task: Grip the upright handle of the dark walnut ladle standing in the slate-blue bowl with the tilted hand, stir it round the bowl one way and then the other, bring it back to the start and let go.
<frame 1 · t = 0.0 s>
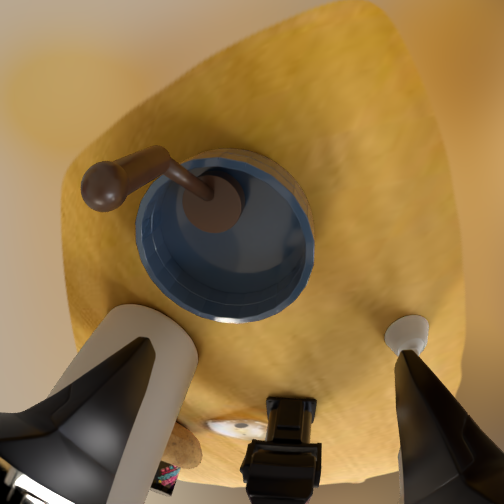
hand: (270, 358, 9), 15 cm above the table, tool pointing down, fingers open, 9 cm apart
potato: (172, 422, 45), on the table
supplement container: (170, 459, 59), on the table
ladle: (177, 206, 16), point 7 cm above the table, hinge at 0.0°
bowl: (231, 228, 24), on the table
chalice: (406, 332, 26), on the table
cylinder vase: (152, 340, 33), on the table
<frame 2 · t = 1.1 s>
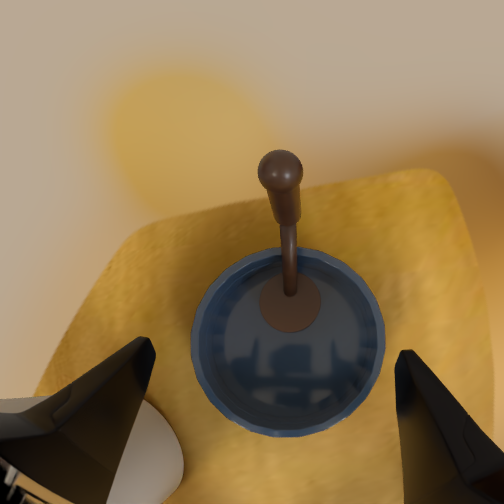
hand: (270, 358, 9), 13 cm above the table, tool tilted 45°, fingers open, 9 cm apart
ladle: (286, 263, 17), point 7 cm above the table, hinge at 0.0°
bowl: (289, 342, 22), on the table
cylinder vase: (129, 445, 22), on the table
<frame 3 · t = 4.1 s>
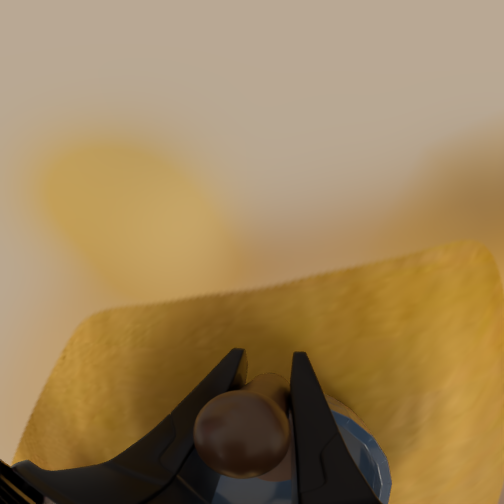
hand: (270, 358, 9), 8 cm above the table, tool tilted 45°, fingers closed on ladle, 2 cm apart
ladle: (265, 457, 9), point 7 cm above the table, hinge at 0.0°, touching gripper
bowl: (275, 474, 15), on the table
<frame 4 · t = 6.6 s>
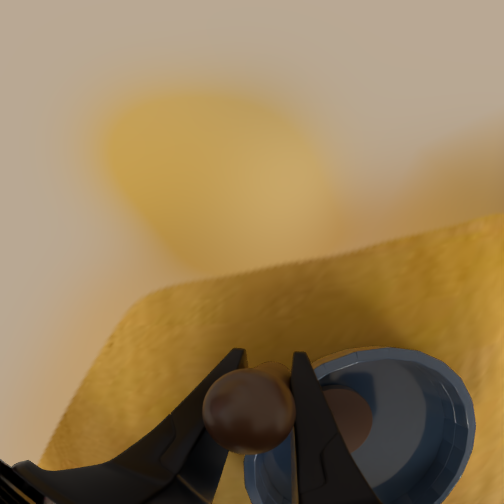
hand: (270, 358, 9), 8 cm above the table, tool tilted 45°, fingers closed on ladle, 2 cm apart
ladle: (319, 431, 9), point 7 cm above the table, hinge at 42.8°, touching gripper
bowl: (358, 443, 15), on the table
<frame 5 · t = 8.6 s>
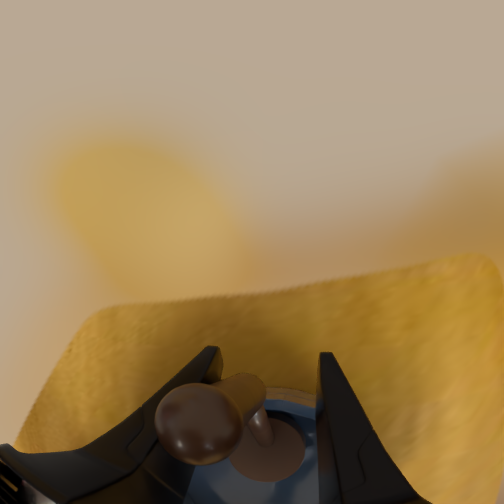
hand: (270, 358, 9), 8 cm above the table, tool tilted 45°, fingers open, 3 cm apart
ladle: (247, 455, 9), point 7 cm above the table, hinge at 6.2°, touching gripper
bowl: (270, 476, 15), on the table
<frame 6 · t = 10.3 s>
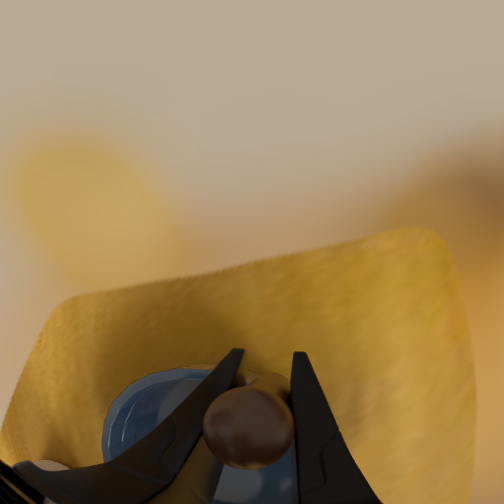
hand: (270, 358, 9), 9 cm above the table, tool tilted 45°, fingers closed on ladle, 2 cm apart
ladle: (231, 442, 10), point 7 cm above the table, hinge at -31.9°, touching gripper
bowl: (218, 454, 16), on the table
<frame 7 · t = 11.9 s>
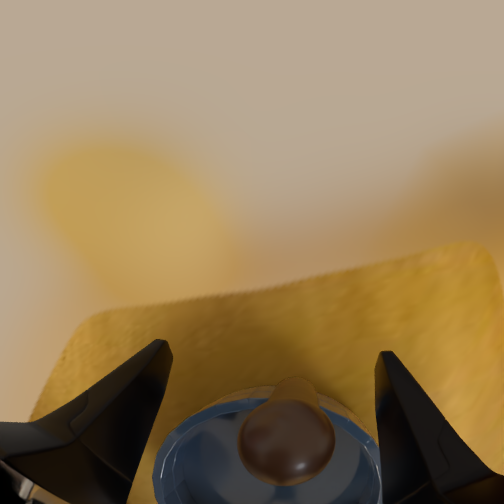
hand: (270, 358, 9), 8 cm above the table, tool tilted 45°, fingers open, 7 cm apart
ladle: (279, 460, 9), point 7 cm above the table, hinge at -7.1°
bowl: (274, 475, 15), on the table
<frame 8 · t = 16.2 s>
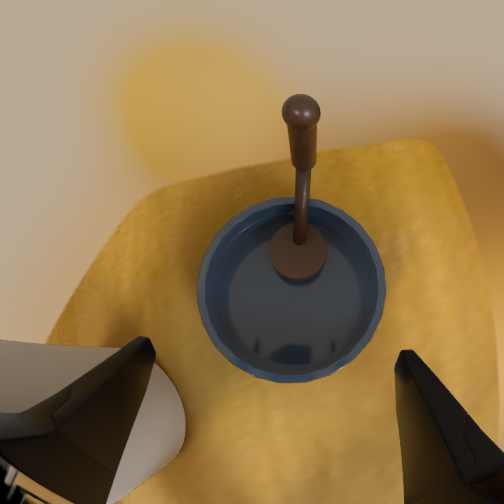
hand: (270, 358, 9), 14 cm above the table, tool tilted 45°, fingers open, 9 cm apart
ladle: (299, 202, 18), point 7 cm above the table, hinge at -7.1°
bowl: (293, 293, 23), on the table
cylinder vase: (130, 410, 23), on the table
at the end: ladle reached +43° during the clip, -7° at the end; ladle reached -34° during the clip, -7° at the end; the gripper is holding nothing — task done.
